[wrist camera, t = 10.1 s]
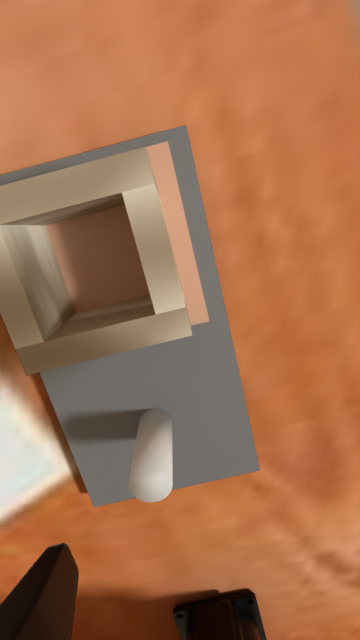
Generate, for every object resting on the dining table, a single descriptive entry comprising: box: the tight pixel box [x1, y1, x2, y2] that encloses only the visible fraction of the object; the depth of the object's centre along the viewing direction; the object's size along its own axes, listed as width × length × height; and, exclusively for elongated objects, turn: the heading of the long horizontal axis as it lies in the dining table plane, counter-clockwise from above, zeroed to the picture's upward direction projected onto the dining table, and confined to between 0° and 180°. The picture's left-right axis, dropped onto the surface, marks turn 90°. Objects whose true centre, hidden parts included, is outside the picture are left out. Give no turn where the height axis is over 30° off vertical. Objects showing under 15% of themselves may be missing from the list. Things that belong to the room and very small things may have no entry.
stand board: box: [0, 125, 260, 507], centre depth 16 cm, size 20×11×6 cm, turn 14°
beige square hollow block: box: [0, 147, 192, 376], centre depth 14 cm, size 7×7×4 cm
